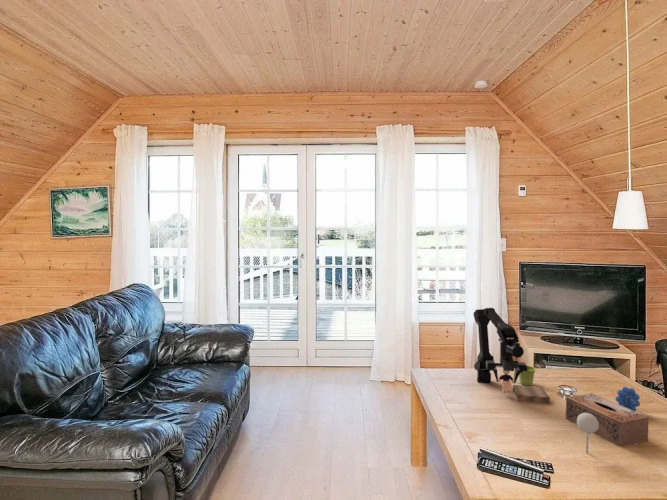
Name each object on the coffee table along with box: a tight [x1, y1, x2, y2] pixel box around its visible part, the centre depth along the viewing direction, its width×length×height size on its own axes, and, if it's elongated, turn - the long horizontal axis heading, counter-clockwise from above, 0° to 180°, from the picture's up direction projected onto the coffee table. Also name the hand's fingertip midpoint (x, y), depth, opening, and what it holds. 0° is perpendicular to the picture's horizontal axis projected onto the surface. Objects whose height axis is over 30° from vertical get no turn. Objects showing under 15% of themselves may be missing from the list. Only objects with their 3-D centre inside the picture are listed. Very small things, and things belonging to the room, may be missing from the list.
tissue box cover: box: [565, 392, 649, 448], centre depth 179 cm, size 26×14×10 cm, turn 17°
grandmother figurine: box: [497, 369, 515, 394], centre depth 214 cm, size 8×4×13 cm, turn 92°
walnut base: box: [512, 384, 551, 404], centre depth 214 cm, size 14×14×3 cm
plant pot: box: [518, 365, 537, 386], centre depth 232 cm, size 9×9×9 cm
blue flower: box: [615, 386, 641, 412], centre depth 194 cm, size 12×7×12 cm, turn 96°
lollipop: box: [576, 413, 599, 454], centre depth 160 cm, size 7×7×15 cm
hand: (505, 382), depth 214 cm, fingers closed on grandmother figurine, 8 cm apart
